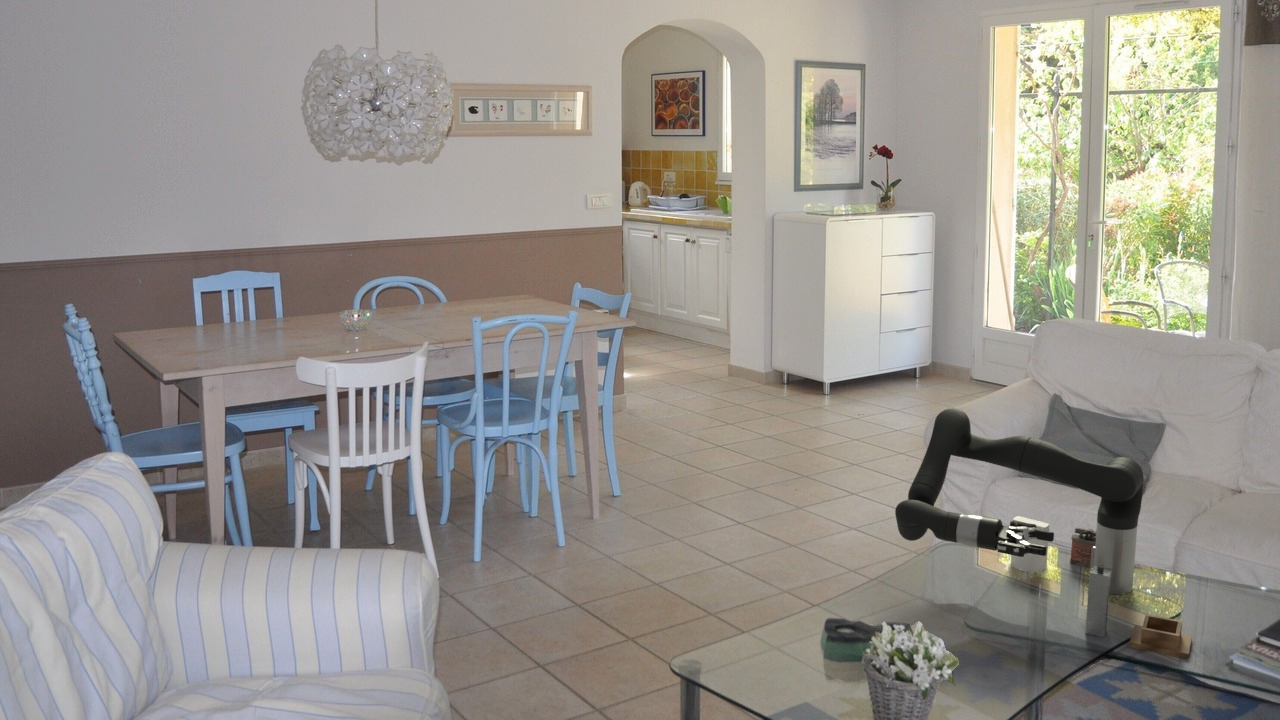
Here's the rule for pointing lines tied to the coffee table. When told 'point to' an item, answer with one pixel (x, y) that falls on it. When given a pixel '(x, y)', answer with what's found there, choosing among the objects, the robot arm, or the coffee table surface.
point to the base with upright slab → (1029, 560)
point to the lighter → (1082, 547)
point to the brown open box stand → (1161, 637)
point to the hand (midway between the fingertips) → (1050, 544)
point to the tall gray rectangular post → (1098, 600)
